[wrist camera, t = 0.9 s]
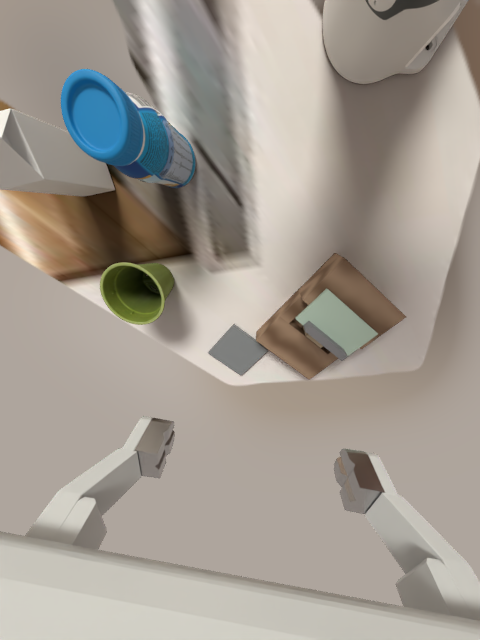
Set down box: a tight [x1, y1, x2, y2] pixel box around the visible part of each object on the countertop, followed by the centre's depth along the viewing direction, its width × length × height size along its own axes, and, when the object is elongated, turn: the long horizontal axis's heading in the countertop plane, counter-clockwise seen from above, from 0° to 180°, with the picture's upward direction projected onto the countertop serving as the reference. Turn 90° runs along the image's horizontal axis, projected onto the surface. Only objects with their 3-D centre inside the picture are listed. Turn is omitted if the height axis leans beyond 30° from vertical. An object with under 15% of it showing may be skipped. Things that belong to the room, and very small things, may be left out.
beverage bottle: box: [61, 69, 196, 188], centre depth 29 cm, size 8×8×20 cm
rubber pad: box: [209, 324, 268, 375], centre depth 54 cm, size 11×11×1 cm
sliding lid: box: [295, 289, 378, 361], centre depth 40 cm, size 8×14×3 cm, turn 52°
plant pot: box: [100, 262, 174, 325], centre depth 43 cm, size 12×12×11 cm
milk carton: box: [0, 109, 115, 196], centre depth 31 cm, size 7×7×19 cm
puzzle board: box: [256, 253, 406, 380], centre depth 46 cm, size 24×17×6 cm
